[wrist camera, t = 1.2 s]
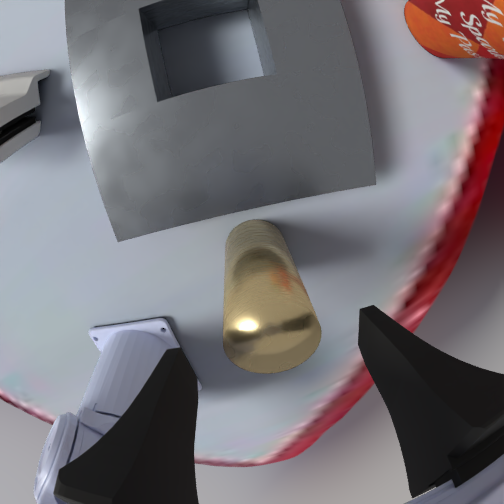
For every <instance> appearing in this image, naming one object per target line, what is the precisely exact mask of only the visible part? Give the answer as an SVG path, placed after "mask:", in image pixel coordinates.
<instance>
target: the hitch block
mask: <svg viewBox="0 0 504 504" xmlns="http://www.w3.org/2000/svg"><path fill="white" fill-rule="evenodd" d="M246 9H247V11H248V14H249V18H250V21H251V25H252V29H253V33H254V36H255V40H256V44H257V48H258V52H259V56H260V60H261V64H262V68H263V73H264V76H262V77H256V78H250V79H245V80H239V81H234V82H230V83H225V84H221V85H216V86H212V87H208V88H204V89H200V90H196V91H193V92H189V93H185V94H182V95H179V96H175V97H172V95H171V91H170V87H169V82H168V78H167V73H166V69H165V64H164V60H163V55H162V50H161V46H160V41H159V36H158V30H161V29H164V28H167V27H170V26H173V25H177V24H180V23H184V22H187V21H191V20H195V19H199V18H203V17H208V16H212V15H217V14H222V13H227V12H233V11H239V10H246ZM65 20H66V35H67V45H68V54H69V62H70V70H71V76H72V82H73V88H74V94H75V99H76V104H77V109H78V114H79V118H80V123H81V127H82V131H83V135H84V139H85V143H86V147H87V151H88V154H89V158H90V162H91V165H92V169H93V172H94V175H95V178H96V182H97V185H98V188H99V191H100V194H101V197H102V200H103V203H104V206H105V209H106V211H107V214H108V217H109V220H110V222H111V225H112V228H113V230H114V233H115V236H116V238H117V241H118V242H120V241H124V240H128V239H131V238H135V237H139V236H142V235H146V234H150V233H153V232H157V231H161V230H165V229H169V228H173V227H177V226H181V225H184V224H188V223H193V222H197V221H201V220H205V219H209V218H213V217H217V216H222V215H226V214H230V213H235V212H239V211H243V210H248V209H252V208H257V207H262V206H266V205H271V204H276V203H280V202H285V201H290V200H295V199H300V198H305V197H310V196H315V195H320V194H326V193H331V192H336V191H342V190H347V189H353V188H359V187H364V186H370V185H376V175H375V164H374V154H373V146H372V138H371V130H370V123H369V117H368V110H367V105H366V99H365V93H364V88H363V83H362V79H361V74H360V69H359V65H358V61H357V57H356V53H355V49H354V45H353V41H352V37H351V34H350V30H349V27H348V24H347V20H346V17H345V14H344V11H343V8H342V5H341V2H340V0H65Z"/></svg>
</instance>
